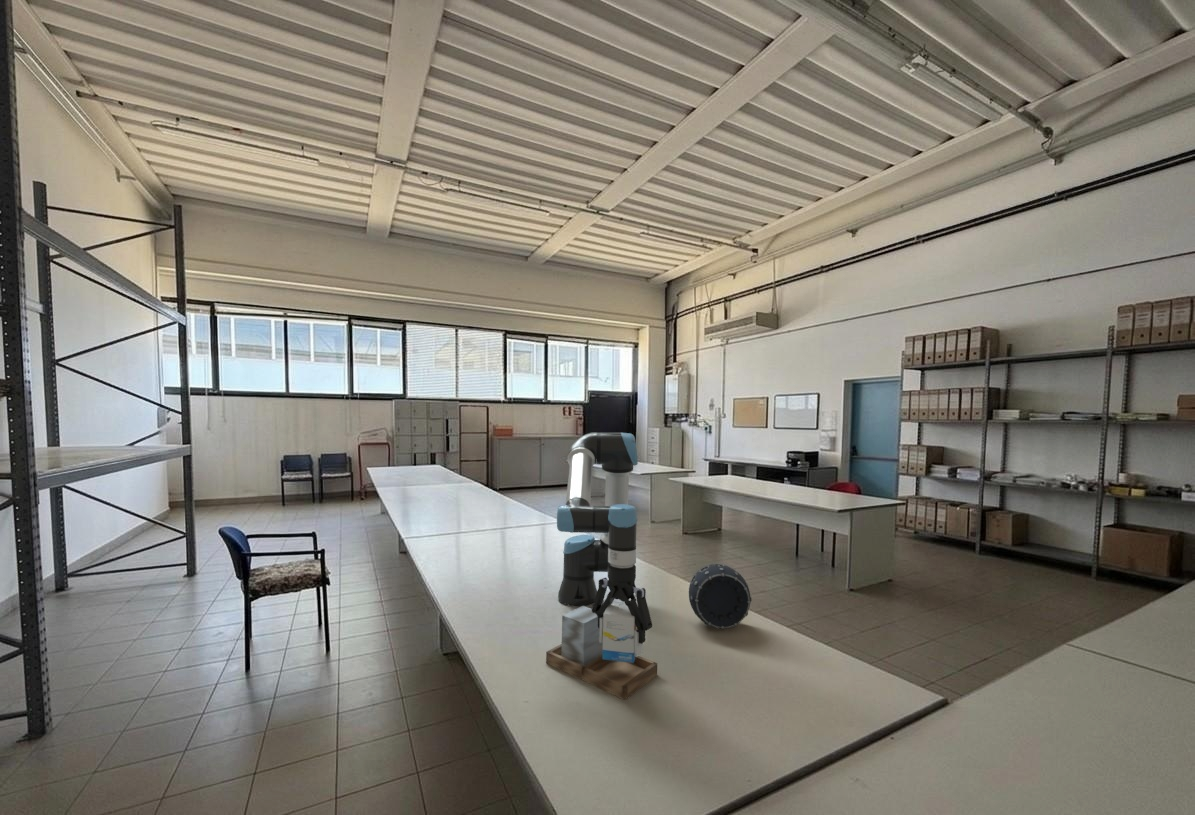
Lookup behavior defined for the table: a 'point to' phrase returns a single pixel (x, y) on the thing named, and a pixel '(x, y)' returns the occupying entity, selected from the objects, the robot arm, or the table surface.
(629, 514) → the robot arm
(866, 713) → the table surface
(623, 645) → the ink box
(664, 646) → the table surface
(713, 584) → the dark round pouf
